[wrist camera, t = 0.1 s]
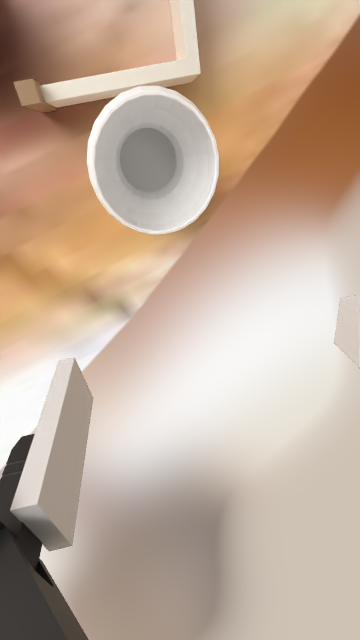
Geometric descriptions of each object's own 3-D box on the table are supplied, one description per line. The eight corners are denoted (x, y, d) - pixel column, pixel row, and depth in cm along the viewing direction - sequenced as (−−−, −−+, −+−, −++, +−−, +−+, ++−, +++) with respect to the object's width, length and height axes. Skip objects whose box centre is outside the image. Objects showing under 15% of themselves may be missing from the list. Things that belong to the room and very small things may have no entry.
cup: (183, 95, 32) (220, 63, 19) (197, 198, 37) (232, 227, 25) (87, 114, 31) (58, 95, 19) (115, 215, 37) (108, 254, 24)
